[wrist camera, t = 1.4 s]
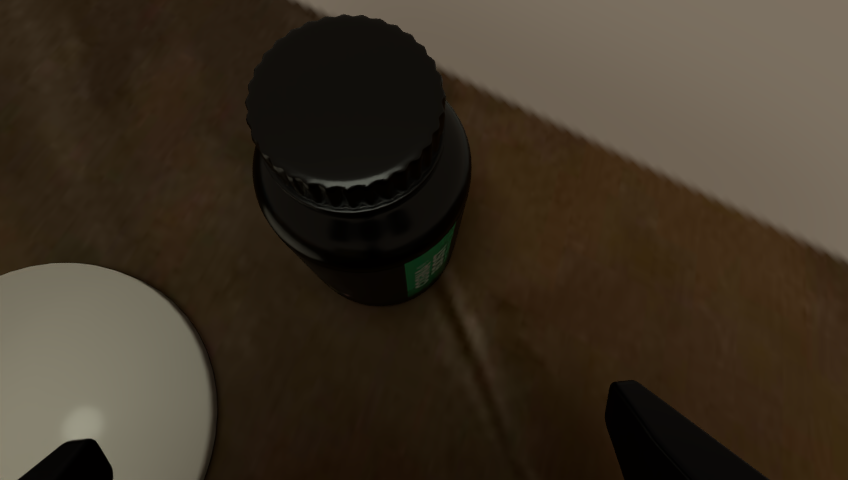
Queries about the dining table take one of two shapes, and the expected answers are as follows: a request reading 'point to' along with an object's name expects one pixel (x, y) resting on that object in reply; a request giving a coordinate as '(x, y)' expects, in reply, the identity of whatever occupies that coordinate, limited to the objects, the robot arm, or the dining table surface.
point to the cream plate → (102, 374)
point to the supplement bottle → (359, 157)
